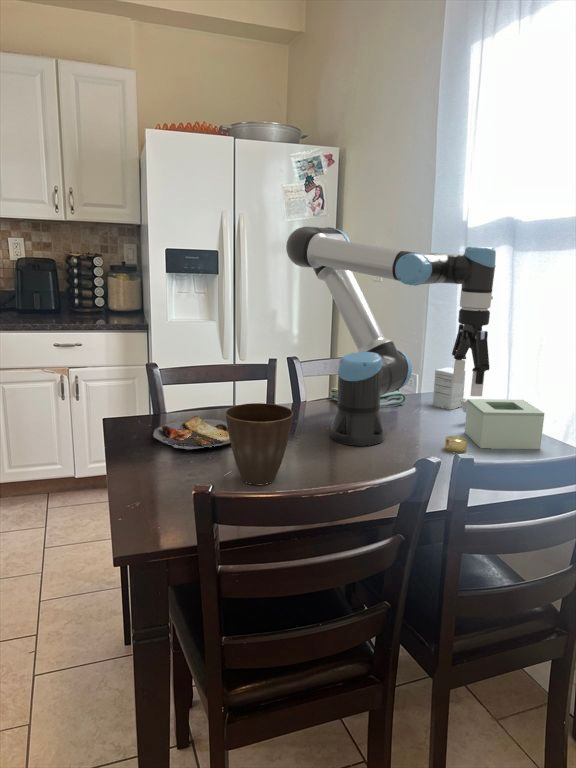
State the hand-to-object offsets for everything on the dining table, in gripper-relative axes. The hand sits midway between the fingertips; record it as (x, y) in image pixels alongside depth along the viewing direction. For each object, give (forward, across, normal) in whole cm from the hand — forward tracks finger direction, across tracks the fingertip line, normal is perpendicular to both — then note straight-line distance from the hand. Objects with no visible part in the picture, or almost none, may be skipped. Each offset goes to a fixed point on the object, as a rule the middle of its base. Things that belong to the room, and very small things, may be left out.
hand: (466, 389), depth 151 cm
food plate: (+17, +7, +71) cm, 74 cm away
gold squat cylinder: (+16, -3, +3) cm, 16 cm away
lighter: (+16, +20, -10) cm, 28 cm away
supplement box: (+16, +40, -10) cm, 45 cm away
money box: (+16, +4, -13) cm, 21 cm away
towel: (+17, +47, +17) cm, 53 cm away
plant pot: (+16, -22, +55) cm, 61 cm away
